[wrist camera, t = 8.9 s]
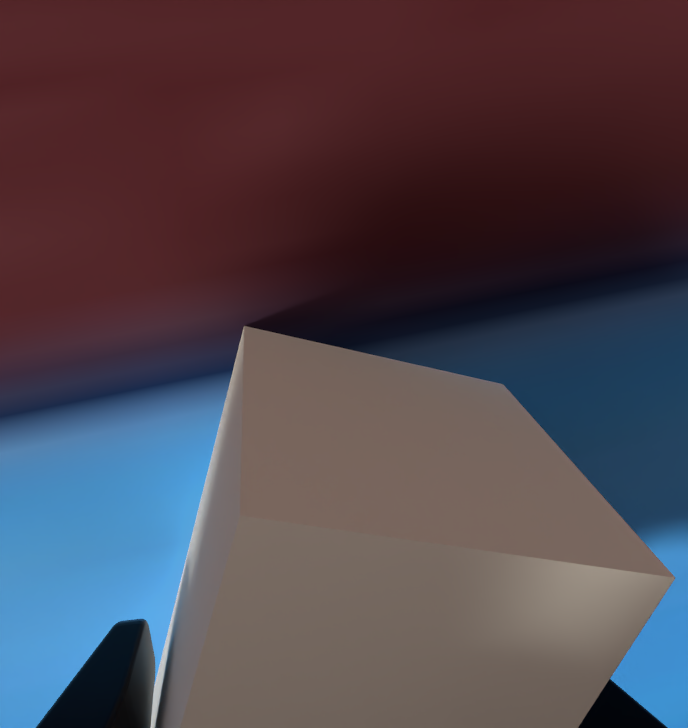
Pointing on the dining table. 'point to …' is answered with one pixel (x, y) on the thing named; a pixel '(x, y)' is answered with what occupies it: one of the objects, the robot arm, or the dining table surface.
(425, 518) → the cream bar
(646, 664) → the dining table surface
